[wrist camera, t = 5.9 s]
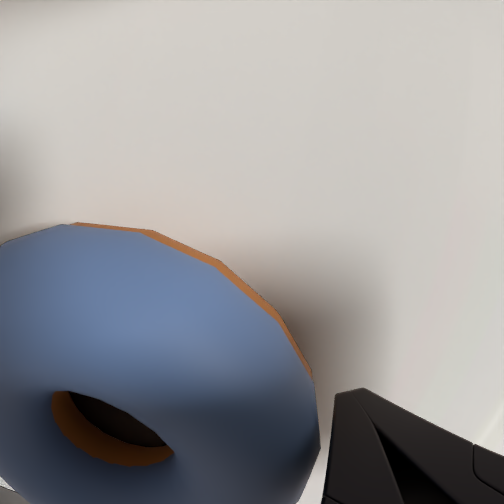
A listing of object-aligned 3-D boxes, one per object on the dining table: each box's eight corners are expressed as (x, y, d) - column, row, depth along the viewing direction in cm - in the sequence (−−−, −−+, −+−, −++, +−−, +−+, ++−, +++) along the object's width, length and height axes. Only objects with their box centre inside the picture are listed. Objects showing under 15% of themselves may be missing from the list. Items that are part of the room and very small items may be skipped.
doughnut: (-30, 213, 7) (-138, 262, 2) (315, 206, 8) (420, 274, 3) (47, 447, 10) (15, 527, 5) (282, 465, 11) (303, 561, 6)
